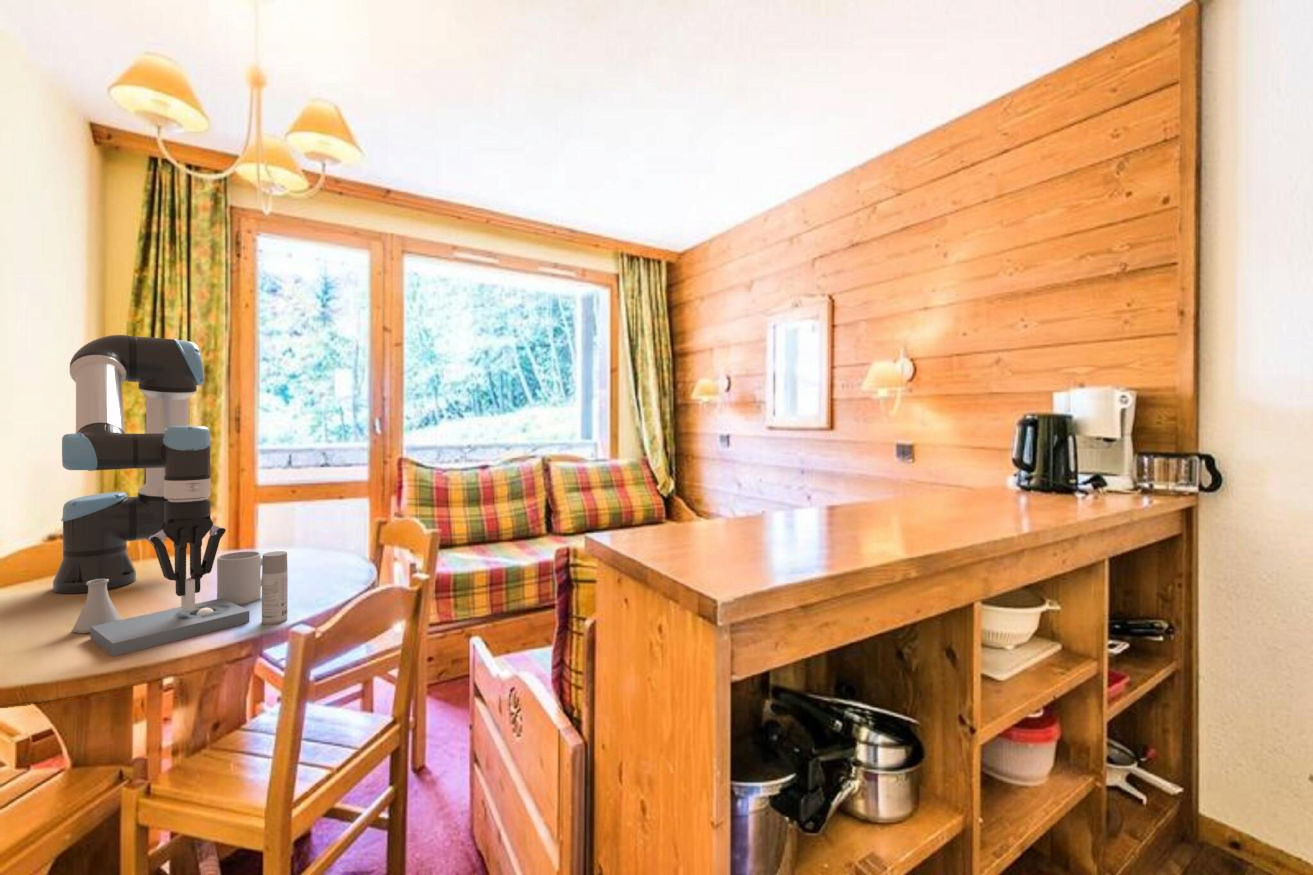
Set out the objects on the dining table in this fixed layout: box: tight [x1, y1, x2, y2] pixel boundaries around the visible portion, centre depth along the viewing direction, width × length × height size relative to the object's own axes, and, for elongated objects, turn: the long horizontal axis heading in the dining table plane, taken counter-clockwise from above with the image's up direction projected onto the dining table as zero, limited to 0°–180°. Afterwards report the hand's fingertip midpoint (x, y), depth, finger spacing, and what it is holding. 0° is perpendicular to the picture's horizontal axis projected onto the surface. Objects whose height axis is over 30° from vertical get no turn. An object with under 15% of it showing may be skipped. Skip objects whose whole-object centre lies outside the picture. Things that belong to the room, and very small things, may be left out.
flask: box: [71, 579, 123, 634], centre depth 117 cm, size 7×7×10 cm
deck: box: [90, 598, 250, 658], centre depth 117 cm, size 14×22×2 cm, turn 147°
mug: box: [216, 550, 263, 606], centre depth 137 cm, size 12×8×11 cm
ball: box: [196, 608, 214, 615], centre depth 121 cm, size 3×3×3 cm
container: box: [261, 550, 289, 626], centre depth 123 cm, size 5×5×15 cm
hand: (188, 609), depth 119 cm, fingers closed
